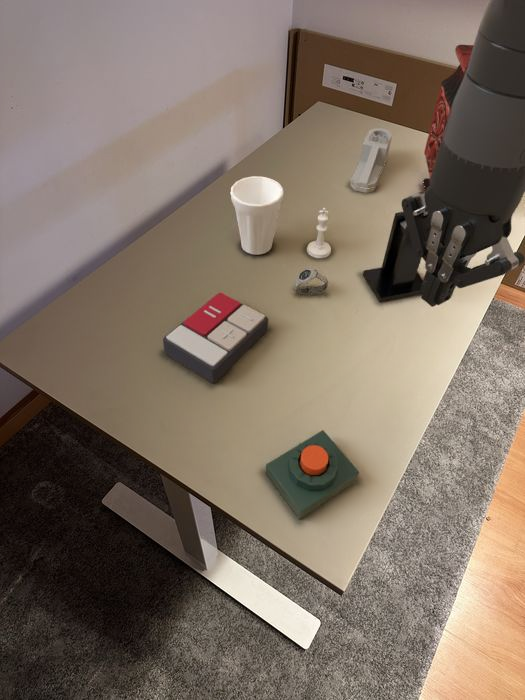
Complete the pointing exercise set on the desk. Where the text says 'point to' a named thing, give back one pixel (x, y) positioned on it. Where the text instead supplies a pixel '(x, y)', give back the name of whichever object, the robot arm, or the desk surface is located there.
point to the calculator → (215, 336)
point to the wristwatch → (306, 278)
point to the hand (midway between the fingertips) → (432, 299)
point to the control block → (311, 476)
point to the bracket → (396, 267)
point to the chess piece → (320, 239)
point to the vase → (445, 108)
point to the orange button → (314, 460)
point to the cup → (257, 211)
